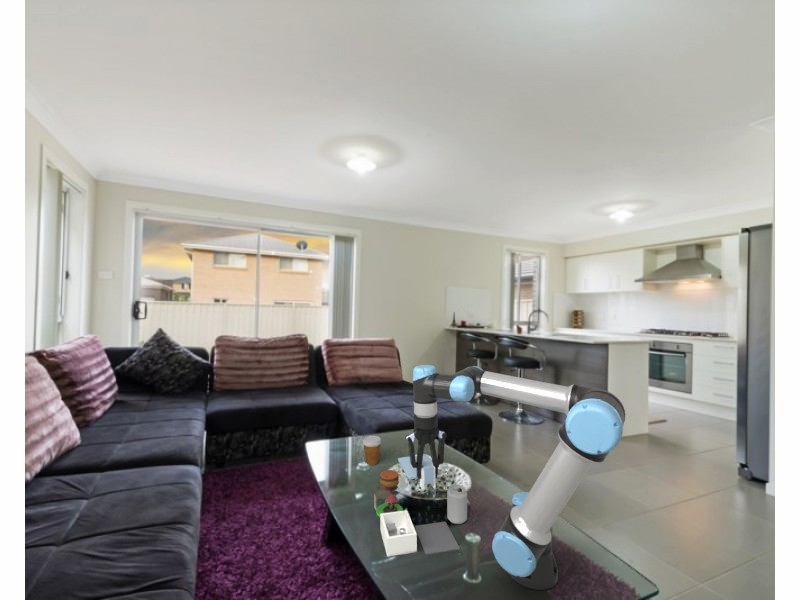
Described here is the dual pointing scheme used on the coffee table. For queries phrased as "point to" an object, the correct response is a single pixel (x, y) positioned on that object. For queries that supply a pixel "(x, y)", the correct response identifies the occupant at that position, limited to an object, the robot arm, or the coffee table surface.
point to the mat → (436, 538)
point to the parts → (394, 530)
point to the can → (457, 504)
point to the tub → (398, 533)
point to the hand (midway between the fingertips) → (427, 486)
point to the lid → (412, 471)
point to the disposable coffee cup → (372, 449)
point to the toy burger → (387, 492)
